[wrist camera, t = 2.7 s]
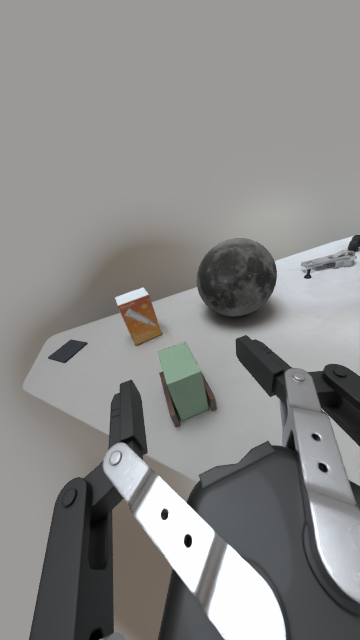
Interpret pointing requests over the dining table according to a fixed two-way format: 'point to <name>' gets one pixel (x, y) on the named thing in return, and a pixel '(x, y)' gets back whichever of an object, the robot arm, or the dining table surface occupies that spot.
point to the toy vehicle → (354, 243)
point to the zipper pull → (333, 260)
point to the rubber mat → (67, 351)
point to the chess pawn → (308, 274)
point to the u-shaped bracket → (171, 405)
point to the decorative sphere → (236, 277)
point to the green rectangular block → (184, 380)
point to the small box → (138, 315)
